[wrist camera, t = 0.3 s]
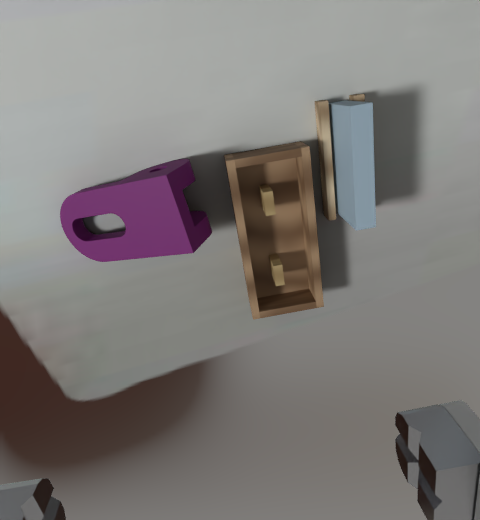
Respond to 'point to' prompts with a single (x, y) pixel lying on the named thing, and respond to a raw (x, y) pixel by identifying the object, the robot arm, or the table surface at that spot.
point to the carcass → (276, 227)
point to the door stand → (327, 154)
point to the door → (353, 162)
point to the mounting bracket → (138, 215)
